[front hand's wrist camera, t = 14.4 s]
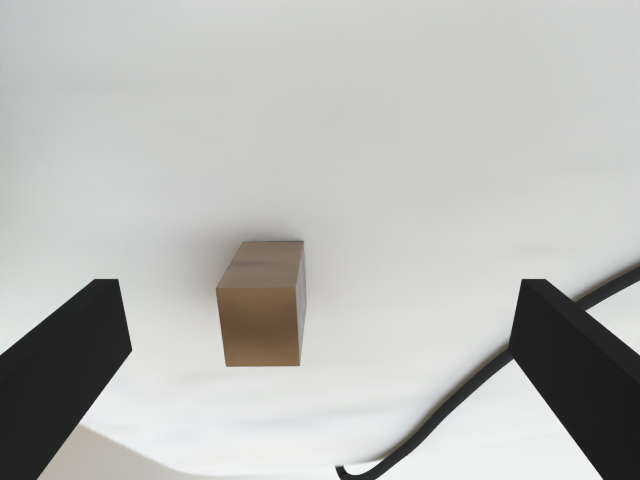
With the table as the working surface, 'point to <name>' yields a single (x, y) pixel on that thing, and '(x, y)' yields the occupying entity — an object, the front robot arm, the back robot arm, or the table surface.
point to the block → (263, 305)
